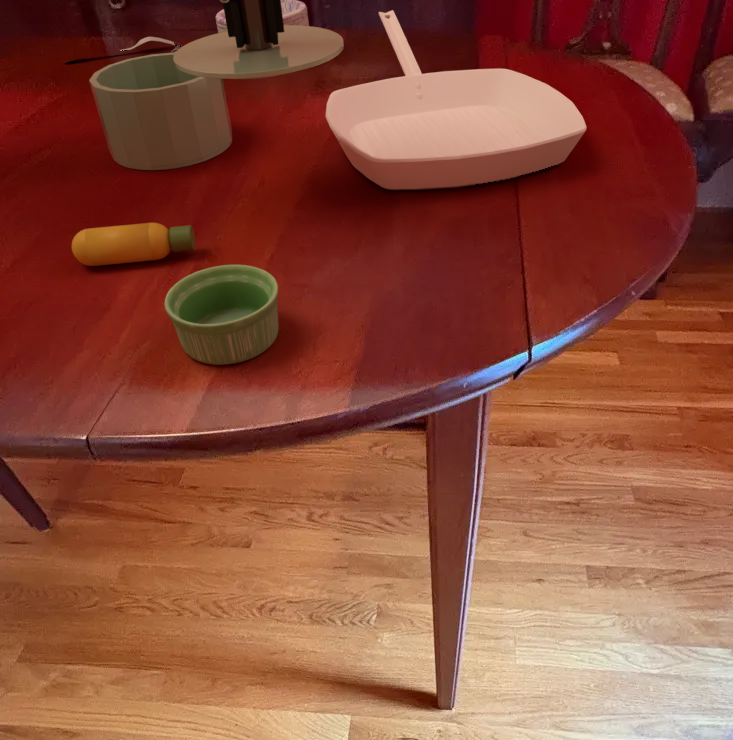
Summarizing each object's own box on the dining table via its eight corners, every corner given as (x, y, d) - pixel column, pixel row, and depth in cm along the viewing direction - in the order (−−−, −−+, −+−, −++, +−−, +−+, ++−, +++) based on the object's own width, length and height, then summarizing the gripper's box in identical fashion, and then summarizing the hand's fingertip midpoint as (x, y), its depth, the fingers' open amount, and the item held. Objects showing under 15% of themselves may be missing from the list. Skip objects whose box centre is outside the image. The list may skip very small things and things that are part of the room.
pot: (101, 175, 88) (77, 96, 82) (123, 130, 101) (103, 58, 95) (229, 163, 89) (214, 84, 83) (235, 119, 101) (222, 48, 95)
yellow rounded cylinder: (74, 274, 70) (62, 241, 67) (82, 256, 73) (71, 223, 70) (195, 263, 70) (187, 229, 68) (198, 245, 73) (190, 212, 71)
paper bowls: (205, 65, 123) (195, 14, 118) (266, 42, 133) (259, -6, 128) (269, 77, 116) (262, 23, 111) (330, 52, 125) (325, 2, 120)
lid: (165, 93, 64) (146, 12, 60) (184, 44, 77) (170, -25, 73) (350, 76, 65) (344, -5, 61) (338, 30, 78) (333, -39, 74)
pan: (358, 213, 76) (352, 124, 70) (296, 88, 111) (288, 21, 105) (613, 173, 80) (627, 86, 74) (476, 64, 115) (478, -1, 109)
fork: (70, 74, 132) (63, 58, 130) (180, 44, 135) (175, 28, 133) (70, 78, 130) (63, 62, 128) (182, 48, 133) (177, 32, 131)
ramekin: (299, 312, 62) (293, 268, 60) (261, 377, 56) (253, 331, 53) (204, 302, 64) (194, 259, 62) (157, 364, 58) (143, 319, 55)
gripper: (319, -205, 62) (338, 25, 74) (130, -190, 62) (178, 40, 73) (324, -206, 56) (343, 45, 68) (114, -189, 56) (170, 61, 67)
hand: (257, 40), depth 70 cm, fingers closed on lid, 2 cm apart
